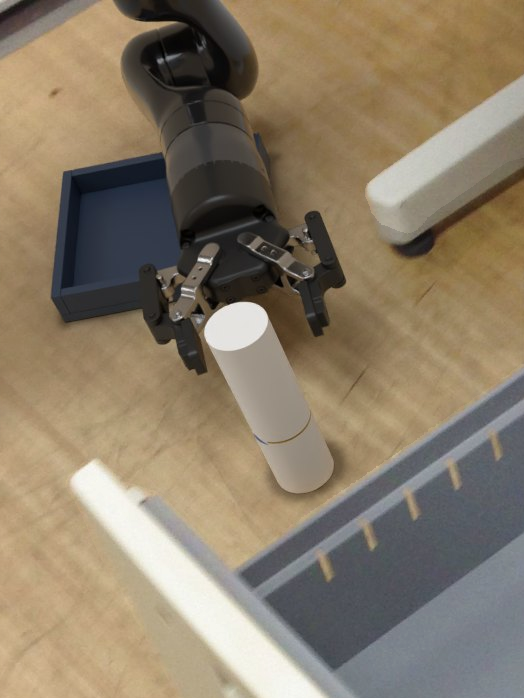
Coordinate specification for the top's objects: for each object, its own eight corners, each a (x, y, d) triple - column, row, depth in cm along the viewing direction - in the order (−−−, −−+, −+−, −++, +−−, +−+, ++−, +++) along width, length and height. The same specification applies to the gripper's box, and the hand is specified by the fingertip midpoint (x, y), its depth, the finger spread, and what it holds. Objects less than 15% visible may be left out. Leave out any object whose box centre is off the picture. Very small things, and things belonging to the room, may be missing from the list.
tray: (64, 322, 142) (50, 297, 139) (76, 196, 150) (62, 171, 148) (269, 283, 141) (257, 257, 138) (269, 158, 149) (259, 132, 147)
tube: (342, 450, 130) (278, 305, 118) (320, 497, 128) (252, 354, 115) (289, 443, 131) (220, 298, 119) (267, 489, 129) (193, 346, 117)
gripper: (110, 190, 131) (139, 342, 122) (297, 130, 131) (340, 277, 122) (148, 264, 137) (178, 414, 128) (327, 207, 138) (370, 352, 128)
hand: (257, 347), depth 125 cm, fingers open, 8 cm apart
